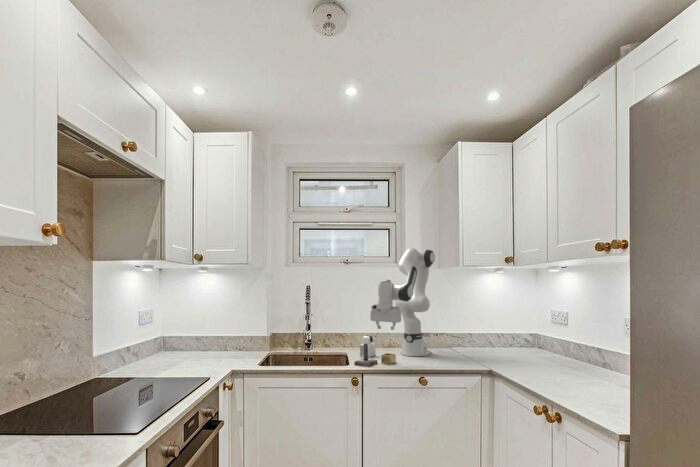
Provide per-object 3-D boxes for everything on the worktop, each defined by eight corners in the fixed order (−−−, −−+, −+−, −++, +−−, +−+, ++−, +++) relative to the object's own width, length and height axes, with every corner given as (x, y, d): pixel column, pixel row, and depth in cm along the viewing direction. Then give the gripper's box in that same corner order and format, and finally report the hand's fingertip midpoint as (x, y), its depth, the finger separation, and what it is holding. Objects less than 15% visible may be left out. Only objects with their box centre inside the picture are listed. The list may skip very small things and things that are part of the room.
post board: (363, 361, 252) (362, 341, 253) (377, 363, 246) (376, 343, 247) (354, 364, 243) (354, 344, 245) (368, 366, 238) (368, 345, 239)
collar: (386, 361, 252) (386, 353, 252) (395, 362, 248) (395, 354, 249) (381, 363, 247) (381, 354, 247) (390, 364, 243) (390, 355, 244)
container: (365, 354, 275) (365, 334, 276) (375, 355, 271) (375, 335, 272) (359, 356, 268) (359, 336, 270) (370, 357, 264) (369, 337, 266)
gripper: (403, 306, 247) (403, 329, 246) (374, 305, 259) (374, 327, 257) (398, 307, 242) (398, 330, 240) (368, 306, 254) (369, 328, 252)
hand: (385, 329), depth 249 cm, fingers open, 8 cm apart
